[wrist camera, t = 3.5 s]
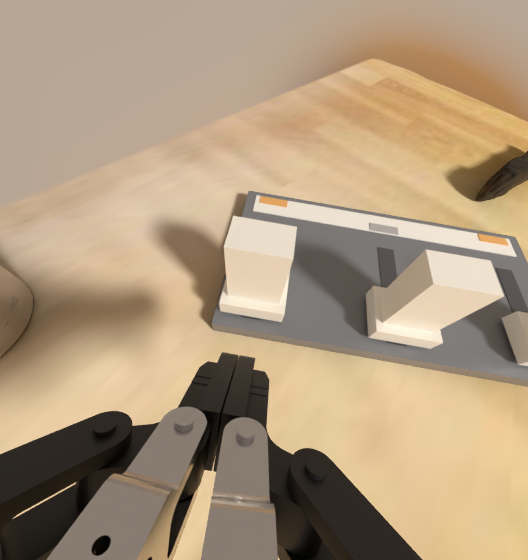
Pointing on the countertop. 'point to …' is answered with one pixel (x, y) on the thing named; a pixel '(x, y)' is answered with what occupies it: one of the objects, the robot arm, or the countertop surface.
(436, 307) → the middle tab
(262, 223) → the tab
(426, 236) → the switch bank
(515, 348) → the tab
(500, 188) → the hand tool
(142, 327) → the countertop surface
